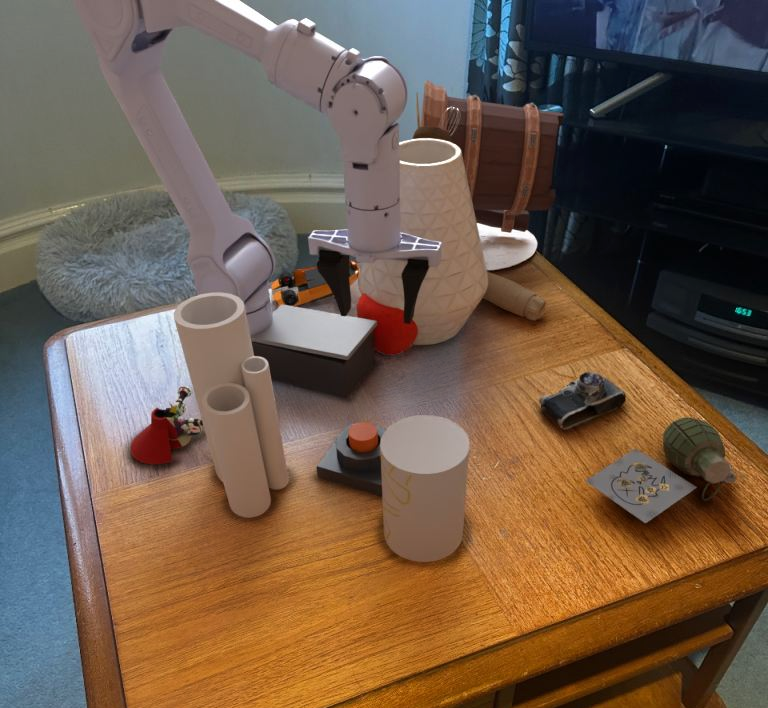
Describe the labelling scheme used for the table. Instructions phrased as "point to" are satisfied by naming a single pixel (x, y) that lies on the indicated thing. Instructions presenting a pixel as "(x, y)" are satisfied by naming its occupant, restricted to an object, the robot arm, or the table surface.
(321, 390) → the lidded storage box
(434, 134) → the utensil holder
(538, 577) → the table surface
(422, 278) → the robot arm
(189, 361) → the vase
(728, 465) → the grenade
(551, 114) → the wooden chest
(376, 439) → the button
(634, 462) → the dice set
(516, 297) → the handle
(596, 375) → the camera
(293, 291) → the toy car
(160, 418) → the action figure
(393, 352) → the apple
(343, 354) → the lid
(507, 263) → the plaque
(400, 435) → the cup
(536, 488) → the table surface
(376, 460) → the block
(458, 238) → the vase
